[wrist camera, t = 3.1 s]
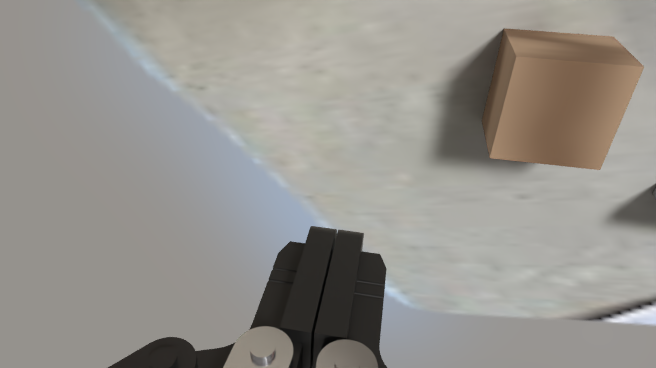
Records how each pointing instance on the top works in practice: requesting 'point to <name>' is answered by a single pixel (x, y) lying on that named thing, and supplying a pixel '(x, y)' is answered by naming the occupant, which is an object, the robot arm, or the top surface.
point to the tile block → (558, 97)
